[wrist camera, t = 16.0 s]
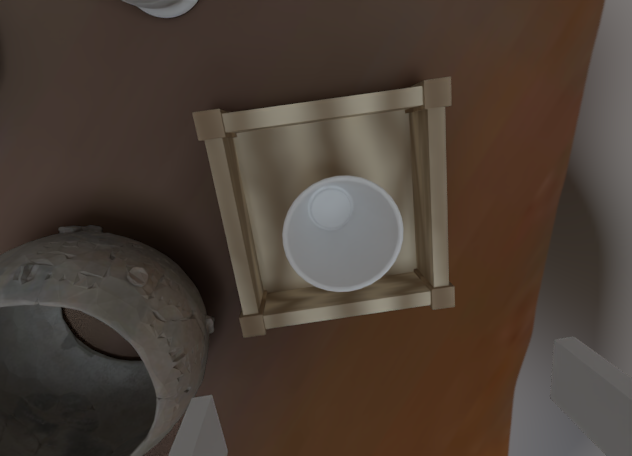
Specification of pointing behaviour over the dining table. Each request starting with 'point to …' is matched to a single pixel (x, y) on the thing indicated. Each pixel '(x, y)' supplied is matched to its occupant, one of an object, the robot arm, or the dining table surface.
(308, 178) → the crate
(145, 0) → the jar
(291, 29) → the dining table surface
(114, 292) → the bowl
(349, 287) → the cup
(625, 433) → the robot arm
